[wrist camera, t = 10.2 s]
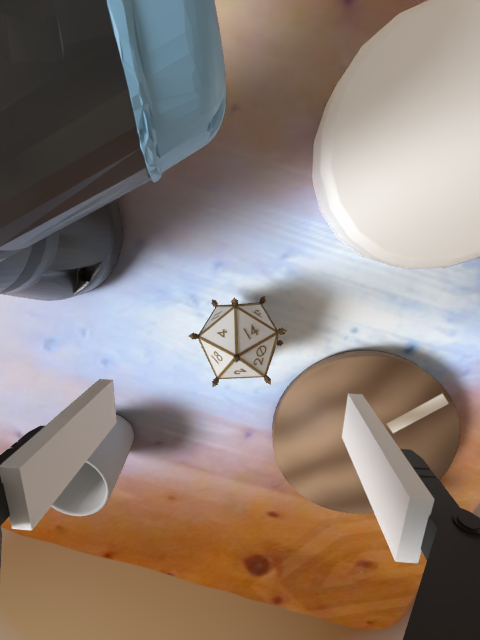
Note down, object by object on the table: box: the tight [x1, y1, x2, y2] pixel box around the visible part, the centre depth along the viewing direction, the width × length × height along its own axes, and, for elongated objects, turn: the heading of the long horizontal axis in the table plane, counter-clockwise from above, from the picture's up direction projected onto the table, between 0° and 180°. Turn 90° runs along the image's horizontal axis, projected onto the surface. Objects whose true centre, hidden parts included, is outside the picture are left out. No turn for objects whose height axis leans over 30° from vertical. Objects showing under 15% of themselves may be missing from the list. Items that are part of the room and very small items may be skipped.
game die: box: [189, 296, 287, 387], centre depth 27 cm, size 9×8×10 cm
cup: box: [51, 415, 134, 516], centre depth 33 cm, size 8×10×8 cm
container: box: [312, 0, 480, 269], centre depth 25 cm, size 20×20×5 cm
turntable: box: [272, 351, 460, 514], centre depth 30 cm, size 20×20×7 cm
